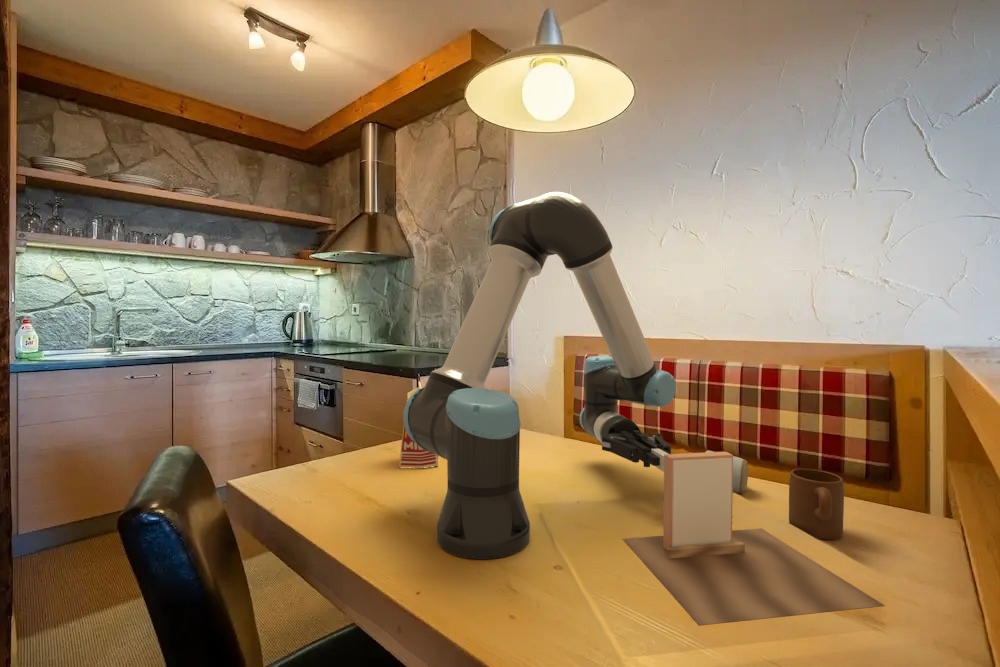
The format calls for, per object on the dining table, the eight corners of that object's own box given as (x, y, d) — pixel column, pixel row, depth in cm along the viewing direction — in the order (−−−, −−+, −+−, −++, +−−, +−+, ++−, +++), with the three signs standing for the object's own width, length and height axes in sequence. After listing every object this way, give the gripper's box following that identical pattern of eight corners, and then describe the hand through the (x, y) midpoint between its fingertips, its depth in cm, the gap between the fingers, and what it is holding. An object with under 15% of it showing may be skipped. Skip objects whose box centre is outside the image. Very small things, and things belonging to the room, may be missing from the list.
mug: (856, 558, 70) (857, 495, 69) (796, 547, 73) (797, 487, 73) (836, 525, 81) (838, 471, 80) (785, 518, 84) (786, 465, 84)
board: (698, 635, 52) (699, 614, 52) (622, 546, 73) (622, 531, 73) (884, 615, 56) (885, 595, 56) (761, 535, 77) (761, 521, 77)
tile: (670, 553, 68) (671, 458, 68) (663, 546, 71) (664, 454, 70) (733, 548, 70) (734, 455, 70) (724, 542, 72) (725, 451, 72)
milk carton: (402, 459, 119) (401, 380, 119) (438, 457, 120) (438, 380, 120) (398, 470, 110) (397, 385, 110) (438, 469, 111) (437, 385, 111)
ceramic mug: (744, 499, 92) (745, 460, 92) (699, 491, 97) (700, 454, 97) (750, 485, 101) (751, 449, 101) (709, 478, 106) (710, 443, 106)
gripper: (645, 448, 102) (710, 487, 79) (588, 451, 100) (637, 492, 77) (645, 414, 102) (710, 443, 79) (588, 417, 100) (636, 447, 77)
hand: (673, 467), depth 78 cm, fingers closed
